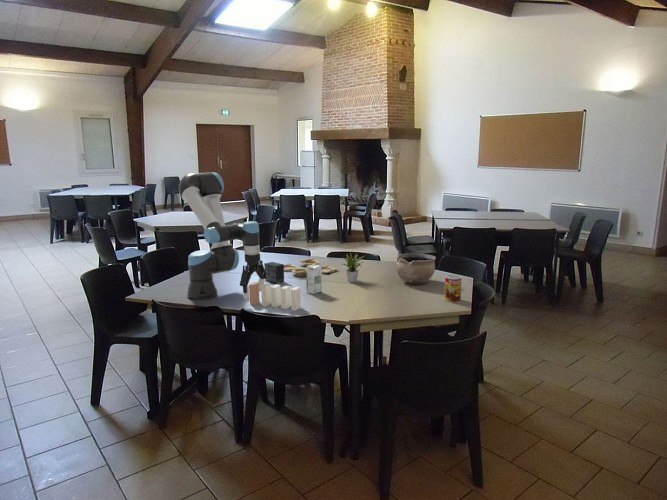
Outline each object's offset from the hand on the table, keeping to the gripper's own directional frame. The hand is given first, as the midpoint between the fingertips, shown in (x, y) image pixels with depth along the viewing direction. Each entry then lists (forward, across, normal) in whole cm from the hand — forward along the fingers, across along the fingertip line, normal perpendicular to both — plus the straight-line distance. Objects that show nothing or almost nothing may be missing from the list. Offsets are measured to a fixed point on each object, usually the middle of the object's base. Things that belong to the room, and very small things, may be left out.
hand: (254, 295), depth 247 cm
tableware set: (+5, +68, +6) cm, 68 cm away
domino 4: (+4, 0, -18) cm, 18 cm away
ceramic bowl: (+4, +66, -64) cm, 92 cm away
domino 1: (+4, 0, 0) cm, 4 cm away
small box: (+4, +38, +12) cm, 40 cm away
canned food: (+4, +41, -89) cm, 98 cm away
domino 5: (+4, 0, -24) cm, 24 cm away
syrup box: (+4, +27, -20) cm, 34 cm away
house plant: (+4, +54, -30) cm, 62 cm away
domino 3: (+4, 0, -12) cm, 13 cm away
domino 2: (+4, 0, -7) cm, 8 cm away
